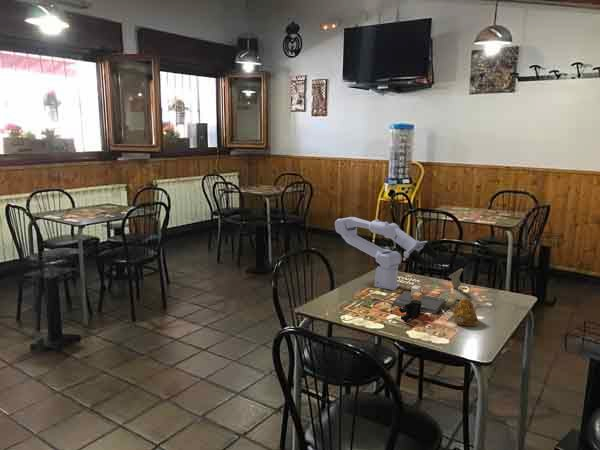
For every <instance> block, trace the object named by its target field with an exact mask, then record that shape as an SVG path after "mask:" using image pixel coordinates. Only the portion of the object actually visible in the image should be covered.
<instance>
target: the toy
mask: <svg viewBox="0 0 600 450" xmlns="http://www.w3.org/2000/svg"><path fill="white" fill-rule="evenodd" d="M404 306H405V307H399V308H398V311H399V312H400V313H401V314H403V315H401V316H400V320H401V321H402V320H403V322H405V323H406V322H408V321H410V320H411V319H413V318H414V317H420V315H421V312H422V311H421V301H418V300H412V301H411V303H409V304H406V305H404ZM404 313H405V314H404Z"/></svg>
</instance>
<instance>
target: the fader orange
mask: <svg viewBox="0 0 600 450" xmlns="http://www.w3.org/2000/svg"><path fill="white" fill-rule="evenodd" d="M422 295H423V293H422V292H420V293H419V292H415V293H414V294H413V298H412V300H418V301H421V298H422Z"/></svg>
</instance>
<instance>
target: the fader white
mask: <svg viewBox="0 0 600 450" xmlns="http://www.w3.org/2000/svg"><path fill="white" fill-rule="evenodd" d="M410 289H411V291H410V292H411V296H413V294H414V293H415V292H419V293H421V286H420V285H413V286H412V287H411V288H410Z"/></svg>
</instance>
